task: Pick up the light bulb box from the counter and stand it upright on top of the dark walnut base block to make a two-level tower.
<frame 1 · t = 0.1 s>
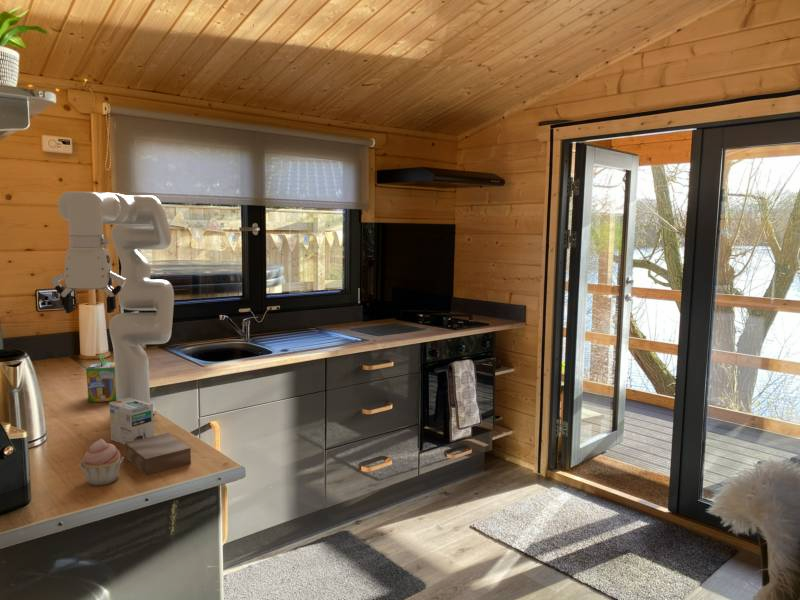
hand: (90, 312, 156), 37 cm above the worktop, tool pointing down, fingers open, 9 cm apart
walnut base block: (158, 460, 158), on the worktop
light bulb box: (132, 441, 172), on the worktop
chalk box: (106, 399, 209), on the worktop
cupcake: (102, 481, 147), on the worktop
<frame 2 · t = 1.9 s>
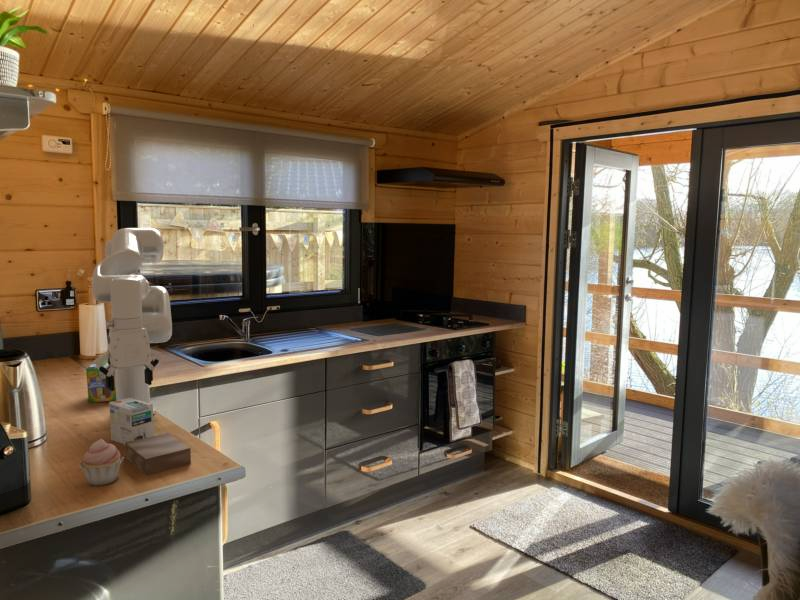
hand: (130, 386, 169), 15 cm above the worktop, tool pointing down, fingers open, 9 cm apart
nothing on the worktop moved.
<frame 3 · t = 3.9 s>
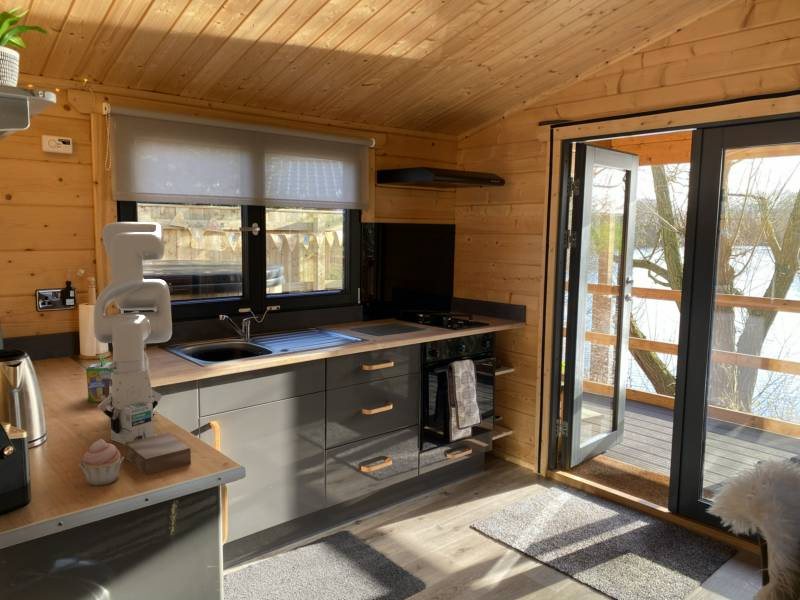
hand: (132, 428, 171), 3 cm above the worktop, tool pointing down, fingers closed on light bulb box, 7 cm apart
light bulb box: (132, 441, 172), on the worktop, touching gripper
everything else where it was.
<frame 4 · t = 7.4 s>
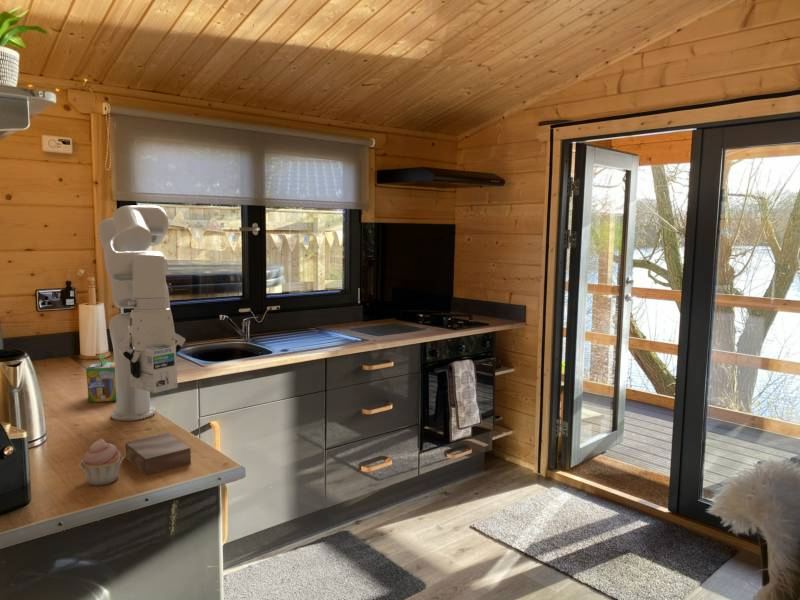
hand: (153, 373, 156), 22 cm above the worktop, tool pointing down, fingers closed on light bulb box, 7 cm apart
light bulb box: (153, 388, 156), point 19 cm above the worktop, touching gripper
everything else where it was.
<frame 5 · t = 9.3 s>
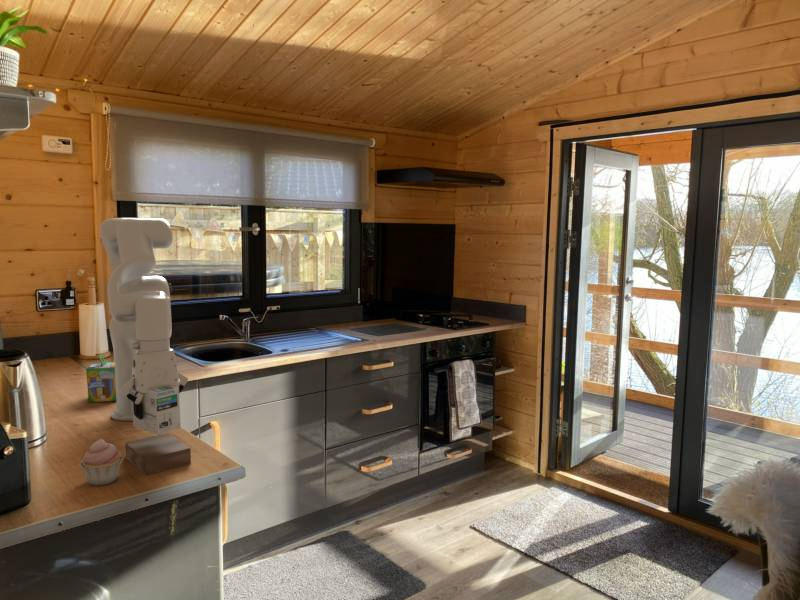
hand: (156, 414, 157), 12 cm above the worktop, tool pointing down, fingers closed on light bulb box, 7 cm apart
light bulb box: (156, 428, 157), point 8 cm above the worktop, touching gripper
everything else where it was.
when the fingers open (9 cm above the worktop, at t = 11.0 s): light bulb box drops 1 cm, resting on walnut base block.
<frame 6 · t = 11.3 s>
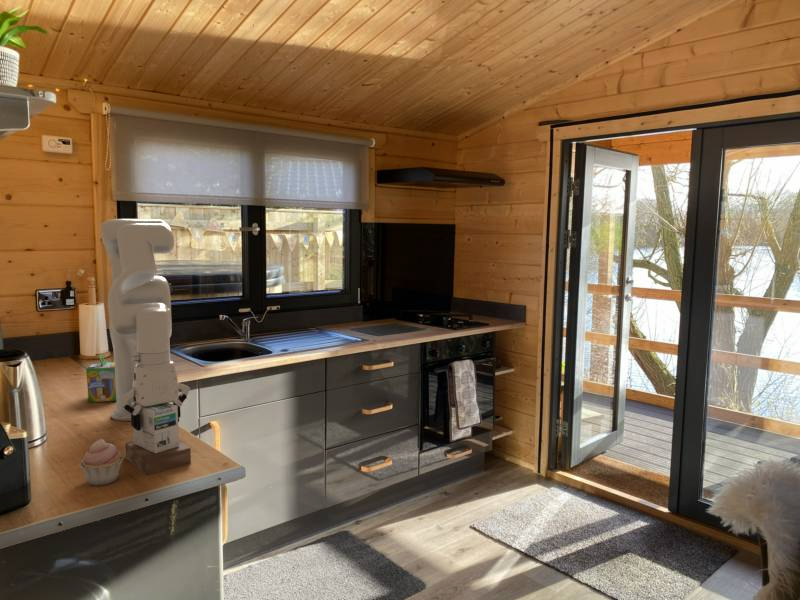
hand: (156, 424, 157), 9 cm above the worktop, tool pointing down, fingers open, 9 cm apart
light bulb box: (156, 446, 158), point 4 cm above the worktop, touching walnut base block
everything else where it was.
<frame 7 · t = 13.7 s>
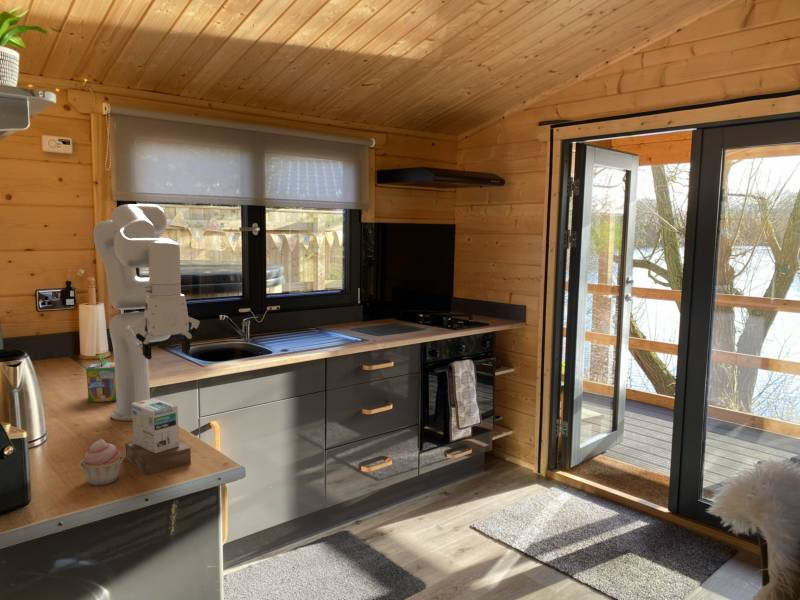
hand: (167, 355, 162), 25 cm above the worktop, tool pointing down, fingers open, 9 cm apart
nothing on the worktop moved.
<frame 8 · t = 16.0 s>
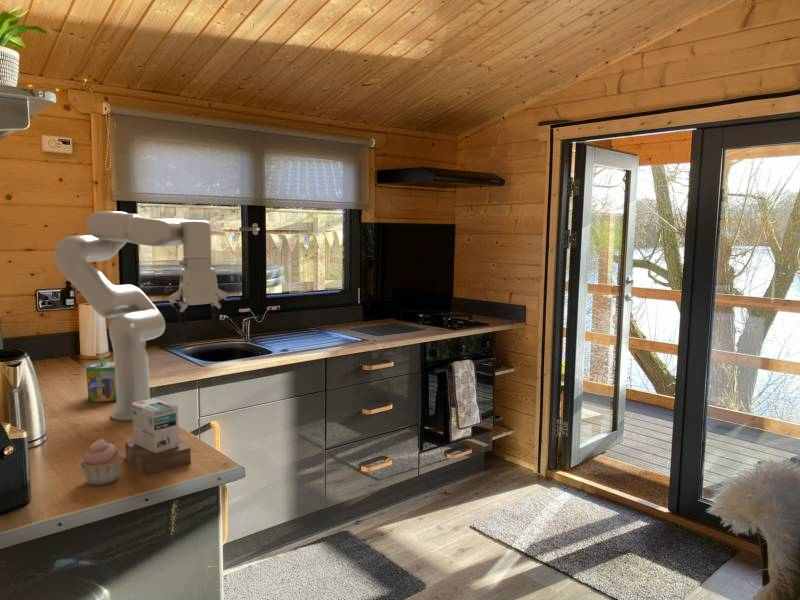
hand: (199, 323, 181), 30 cm above the worktop, tool pointing down, fingers open, 9 cm apart
nothing on the worktop moved.
at the end: light bulb box 0.3 cm off-centre on the walnut base block, point 3.8 cm above the walnut base block's base; light bulb box tilted 0°; the gripper is holding nothing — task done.
